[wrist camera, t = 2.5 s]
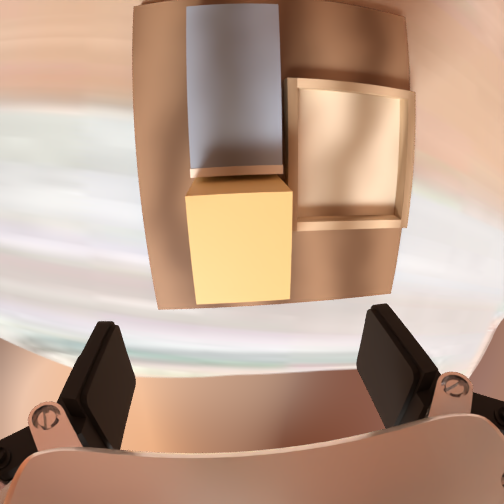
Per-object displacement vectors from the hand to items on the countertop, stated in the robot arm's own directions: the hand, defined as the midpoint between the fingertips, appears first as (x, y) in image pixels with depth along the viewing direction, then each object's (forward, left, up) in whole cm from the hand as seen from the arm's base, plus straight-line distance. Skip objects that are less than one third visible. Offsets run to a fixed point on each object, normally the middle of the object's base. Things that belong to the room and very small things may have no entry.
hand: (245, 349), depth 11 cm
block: (0, 0, -15) cm, 15 cm away
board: (-4, -5, -16) cm, 17 cm away
